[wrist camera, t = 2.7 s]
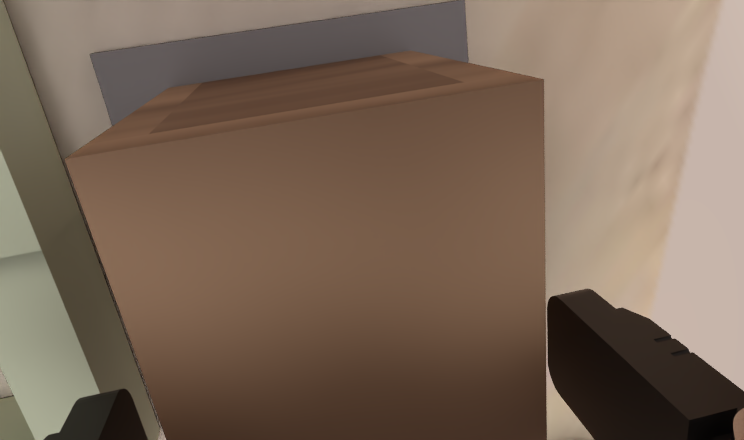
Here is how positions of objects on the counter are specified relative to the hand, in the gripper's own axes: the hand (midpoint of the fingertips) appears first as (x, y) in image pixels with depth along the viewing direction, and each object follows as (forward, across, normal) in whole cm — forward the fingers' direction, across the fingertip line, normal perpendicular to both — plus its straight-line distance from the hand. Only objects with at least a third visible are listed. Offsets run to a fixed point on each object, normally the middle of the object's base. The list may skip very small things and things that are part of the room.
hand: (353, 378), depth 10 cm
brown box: (+5, 0, 0) cm, 5 cm away
